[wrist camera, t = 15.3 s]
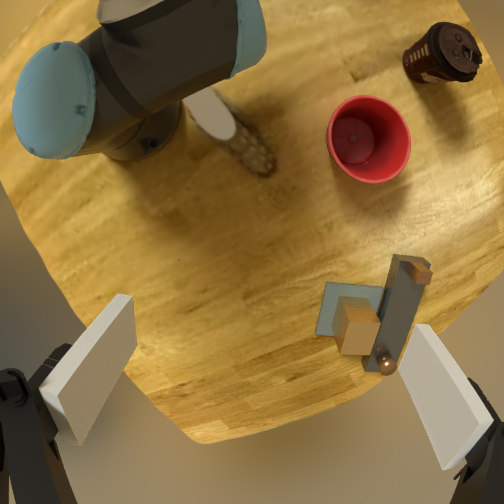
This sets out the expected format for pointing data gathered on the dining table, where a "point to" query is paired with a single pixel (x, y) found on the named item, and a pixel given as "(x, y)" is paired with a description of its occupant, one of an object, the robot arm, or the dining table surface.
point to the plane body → (397, 311)
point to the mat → (331, 299)
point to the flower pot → (368, 139)
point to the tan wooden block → (355, 326)
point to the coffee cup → (443, 55)
